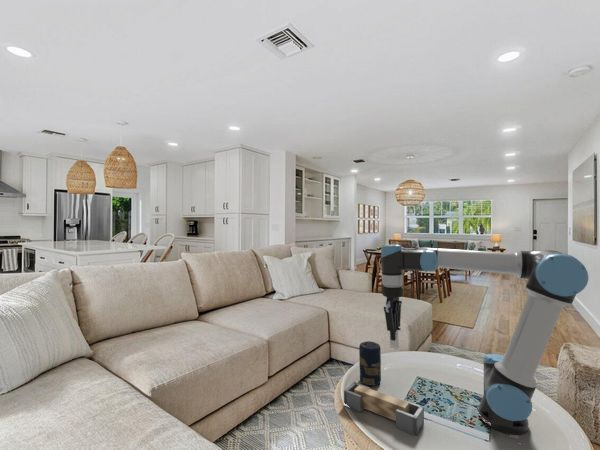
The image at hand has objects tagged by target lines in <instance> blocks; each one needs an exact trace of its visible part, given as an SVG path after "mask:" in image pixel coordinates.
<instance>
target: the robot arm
mask: <svg viewBox="0 0 600 450" xmlns="http://www.w3.org/2000/svg"><path fill="white" fill-rule="evenodd" d="M380 248H381V250H380V251H381V252H380V253H381V254H380V260H381V276H380V278H381V284H382V286H381V290H382V291H381V292H382V294H381V295H382V296H383V297H385V298H386V301H385V305H386V306H383V312H384V315H385V324H386V331H388V332H389V347H390V348H391V349H395V350H398V349H399V347H400V346H399V342H400V341H399V331H401V328H400V327H401V320H402V319H401V318H402V317H401V316H402V303H403V301H402V300H400V298H402V297H403V296H404V287H403V284H404V280H403V279H404V278H403V271H415V272H425V273H427V272H435V271H436V270H437V269H438V268H440V269H449V270H450V269H452V270H461V271H471V272H472V271H473V272H483V273H493V274H494V273H495V274H505V275H514V276H516V278H518V279H527V283H526V285H525V289H526V291H527V292H528V293H527V294H528V296H527V299H526V301H525V303H524V306H523V308H522V311H521V314H520V315H519V318H518V321H517V322H516V323H517V324H516V326H515V328H514V330H513V333H512V336H511V338H510V340H509V342H508V345H507V348H506V350H505V353H504V355H503V354H499V353H498V354H497V353H487V354H484V356H483V361H482V363H483V395H482V398H481V400H480V402H479V405H478V408H477V409H478V410H477V412H479V414H480V415H481V417H483V418H484V419H485V420H487V421H488V422H490V423H491V427H490V428H491V429H494V430H496V431H498V432H500V433H501V432H502V433H505V434H509V435H523V434H526V433H527V432H528V431H529V419H528V418H529V417H530V416H531V414H532V412H533V402H532V398H533V395H534V393H535V390H536V389H537V387H538V383H537V381H536V379H535V378H534V376H535V374H536V372H537V369H538V367H539V364H540V362H541V359H542V357H543V356H544V353H545V350H546V348H547V346H548V343H549V342H550V339H551V337H552V335H553V332H554V329H555V328H556V325H557V322H558V320H559V318H560V315H561V313H562V311H563V308H565V307H568V306H571V305H573V302H574V300H575V298H576V296H577V295H578V294H579V293H581V292H582V291H584V290H585V288H586V287H587V285H588V283H589V273H588V270H587V268H586V266H585V265H584V264H583V262H581V261H580V260H579V259H578V258H576V257H575V256H573V255H571V254H567V253H563V252H560V251H558V250H557V251H556V250H552V249H551V250H550V249H549V250H547V249H545V250H518V251H517V252H514V253H513V252H504V251H503V252H501V251H500V252H499V251H485V250H470V249H469V250H468V249H453V248H435V247H428V246H421V247H419V248H417V249H416V250H415V249H408V250H407V249H405V250H404V249H403V248H402V245H400V244H384V245H383V244H382V246H381V247H380Z"/></svg>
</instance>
